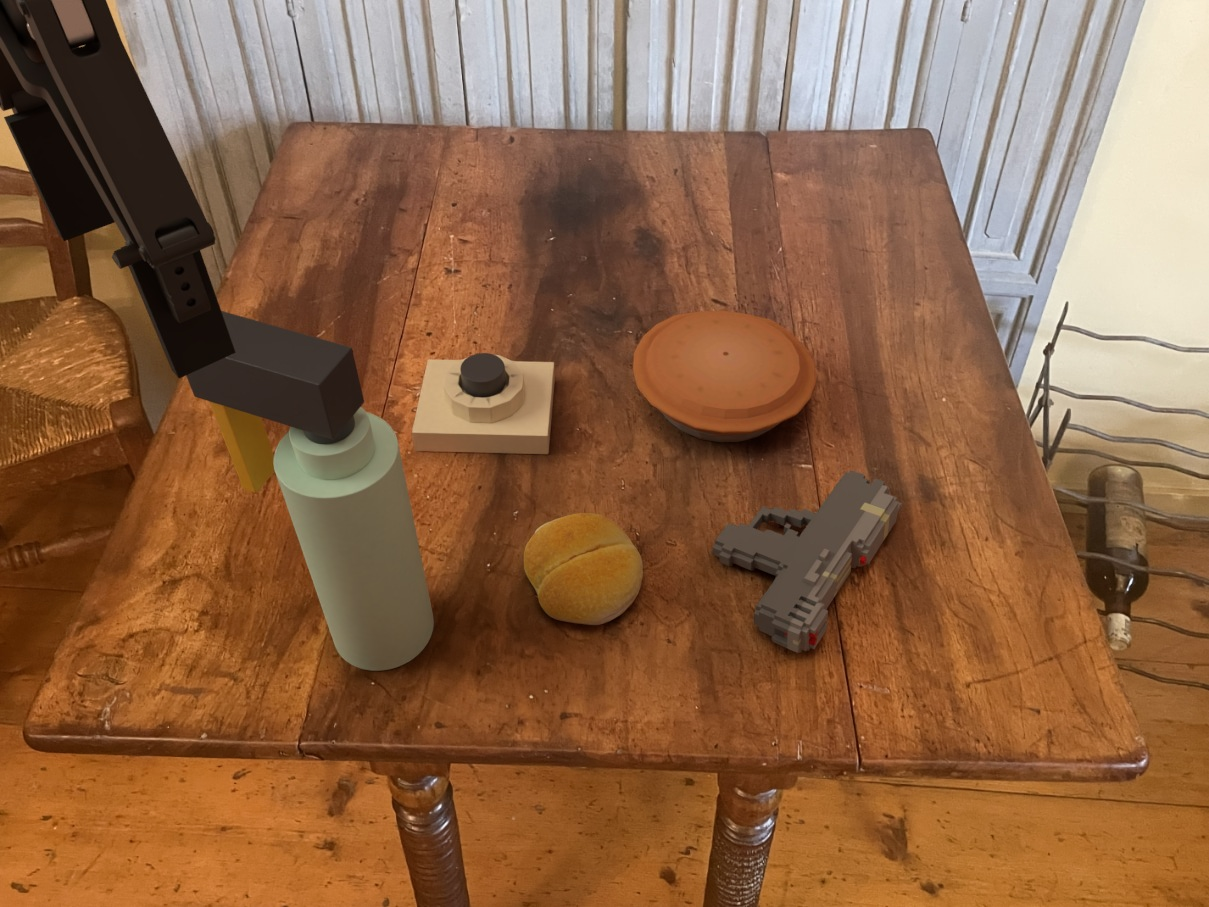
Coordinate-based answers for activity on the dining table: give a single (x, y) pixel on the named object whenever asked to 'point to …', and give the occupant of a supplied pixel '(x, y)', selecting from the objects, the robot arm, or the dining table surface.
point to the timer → (485, 411)
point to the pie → (723, 374)
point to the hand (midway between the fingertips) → (141, 290)
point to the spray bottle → (334, 486)
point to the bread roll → (583, 568)
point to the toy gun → (810, 555)
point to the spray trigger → (246, 445)
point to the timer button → (483, 375)
